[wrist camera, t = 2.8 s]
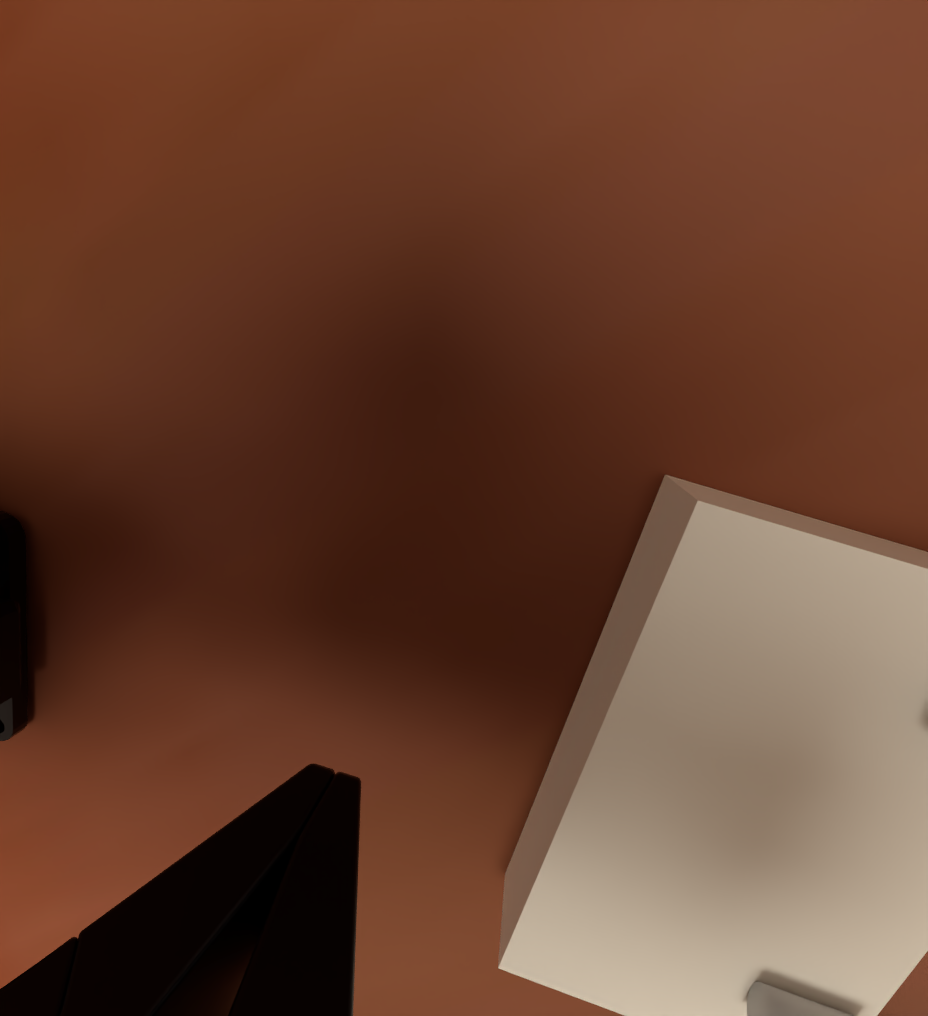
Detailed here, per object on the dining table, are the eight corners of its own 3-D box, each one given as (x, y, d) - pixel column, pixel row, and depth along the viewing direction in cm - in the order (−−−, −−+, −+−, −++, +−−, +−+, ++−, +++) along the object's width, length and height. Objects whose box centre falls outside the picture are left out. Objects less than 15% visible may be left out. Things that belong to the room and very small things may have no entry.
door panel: (505, 858, 13) (494, 1025, 10) (660, 470, 10) (719, 517, 7) (766, 951, 13) (848, 1159, 10) (1010, 573, 10) (1263, 680, 6)
